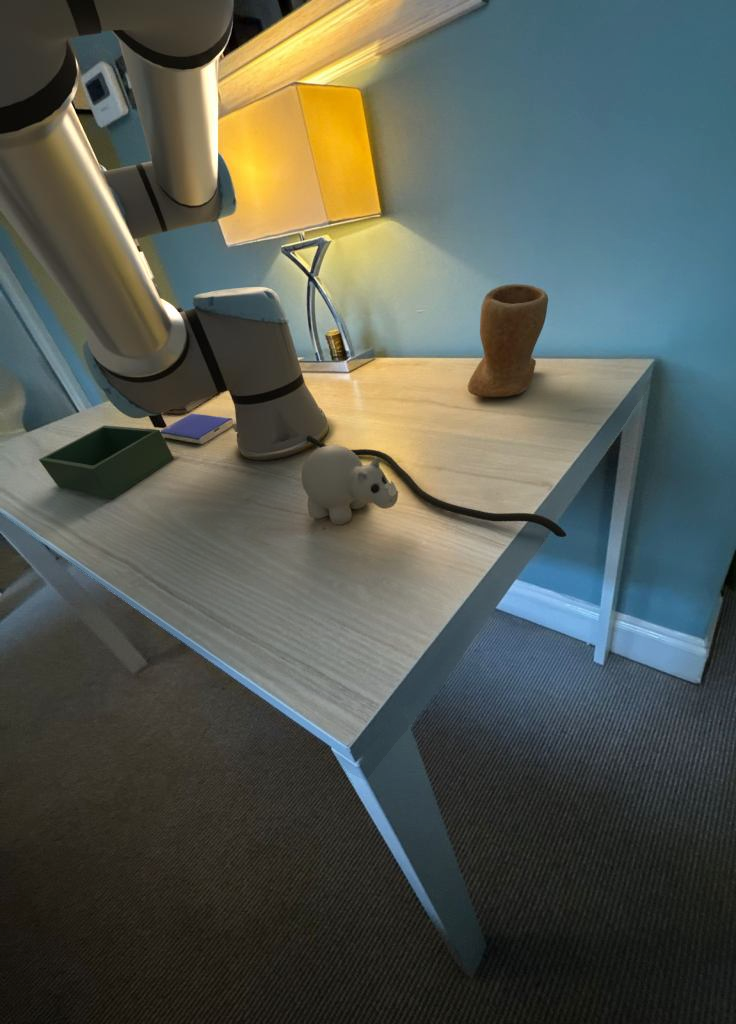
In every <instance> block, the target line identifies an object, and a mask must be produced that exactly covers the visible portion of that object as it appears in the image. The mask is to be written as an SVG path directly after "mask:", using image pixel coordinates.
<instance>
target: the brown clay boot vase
mask: <svg viewBox="0 0 736 1024" xmlns="http://www.w3.org/2000/svg"><path fill="white" fill-rule="evenodd" d="M548 304H549V297H548V294H547V293H546V291H545V290H543V289H542V288H539V287H536V286H534V285H530V284H522V283H521V284H519V283H513V284H504V285H500V286H497V287H495V288H493V289H492V288H491V290H489V291H488V292H487V293H486V294H485V296H484V298H483V299H482V304H481V308H480V319H479V324H480V325H479V337H480V342H481V346H482V349H483V354H484V356H483V357H482V359H481V360H480V362H478V365H477V366H476V368H475V369H474V371H473V373H472V375H471V376H470V378H469V381H468V384H467V391H468V392H469V394H471V395H474V396H477V397H482V398H506V397H511V396H518V395H520V394H522V393H523V392H525V391H526V390H527V388H528V387H529V385H530V384H531V382H532V381H533V377H534V373H535V368H536V364H537V361H536V359H534V358H533V357H532V356H533V352H534V350H535V347H536V345H537V342H538V339H539V337H540V335H541V333H542V331H543V329H544V326H545V325H544V324H545V322H546V318H547V311H548Z"/></svg>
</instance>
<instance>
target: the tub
mask: <svg viewBox="0 0 736 1024" xmlns="http://www.w3.org/2000/svg"><path fill="white" fill-rule="evenodd" d="M173 460H175V457H174V456H173V453H172V452H171V450H170V448H169V446H168V444H167V442H166V440H165V437H163V436H162V434H161V430H160V429H156V428H155V429H154V428H144V427H143V428H141V427H129V426H118V425H117V426H116V425H102V426H100V427H98V428H96V429H94V430H92V431H91V432H88V433H87V434H84V435H83V436H80V437H79V438H77V439H75V440H73V441H71V442H69V443H68V444H66V445H64V446H62V447H60V448H58V449H56V450H54V451H52V452H50V453H48V454H47V455H45V456H42V457H41V458H39V459H38V461H39V463H41V465H42V467H44V469H45V471H46V472H47V473H48V475H49V476H50V477H51V479H52V480H53V482H54V483H55V484H56V486H57V488H61V489H65V490H69V491H73V492H78V493H82V494H86V495H91V496H95V497H100V498H103V499H104V498H105V499H108V500H114V499H115V498H117V497H119V496H120V495H121V494H123V493H124V492H126V491H128V490H129V489H130V488H133V487H134V486H135V485H136V484H138V483H140V482H141V481H142V480H144V479H146V478H147V477H149V476H150V475H152V474H154V473H155V472H156V471H158V470H159V469H161V468H162V467H164V466H166V465H167V464H169V463H170V462H171V461H173Z"/></svg>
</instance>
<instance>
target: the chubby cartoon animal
mask: <svg viewBox="0 0 736 1024" xmlns="http://www.w3.org/2000/svg"><path fill="white" fill-rule="evenodd" d="M351 450H352V449H349V448H348V447H345V446H342V445H338V444H337V445H336V444H328V445H326V446H324V447H321V448H320V447H318V448H317V449H315V450H314V451H313V452H311V453H310V455H309V456H308V457H307V458H306V459H305V461H304V463H303V465H302V470H301V484H302V488H303V490H304V492H305V494H306V495H307V496H308V497H307V511H308V514H309V516H310V517H311V518H313V519H314V520H315V519H316V520H318V519H323V518H325V517H327V516H329V519H330V521H331V522H332V523H333V524H335V525H344V524H347V523H348V522H350V521H351V520H352V516H353V512H352V510H360V509H362V508H364V507H365V506H366V505H367V504H374V505H375V506H377V507H378V508H381V509H390V508H393V507H394V506H395V505H396V503H397V502H398V496H399V492H398V489H397V487H396V485H395V483H394V482H393V480H390V481H389V479H388V477H387V476H386V474H385V473H384V471H383V470H382V469H381V467H380V458H379V457H376V456H375V458H373V460H372V461H371V463H369V464H363V463H362V460H361V459H360V458H359V456H358V455H356V454H355V453H353V452H352V451H351Z"/></svg>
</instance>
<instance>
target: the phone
mask: <svg viewBox="0 0 736 1024" xmlns="http://www.w3.org/2000/svg"><path fill="white" fill-rule="evenodd" d="M213 397H214V396H210V397H207V398H204V399H201V400H198V401H195V402H192V403H189V404H186V405H183V406H181V407H178V408H175V409H172V410H169V411H166V412H164V413H163V414H181V415H182V414H186V413H188V412H191V411H192V410H194V409H196V408H197V407H199V406H201V405H202V404H203V403H205V402H207V401H208V400H210V399H212V398H213Z"/></svg>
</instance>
